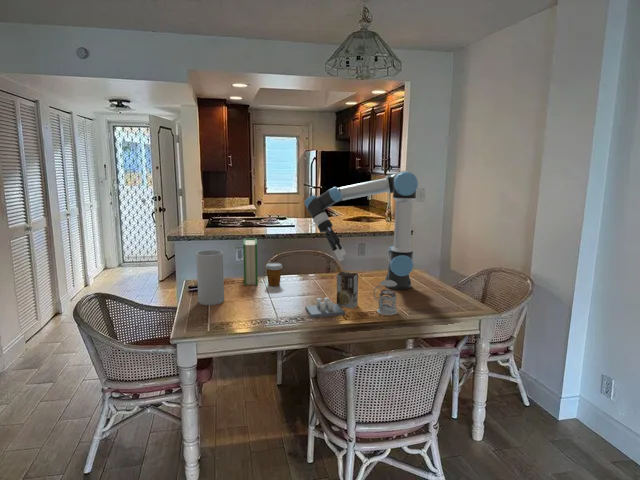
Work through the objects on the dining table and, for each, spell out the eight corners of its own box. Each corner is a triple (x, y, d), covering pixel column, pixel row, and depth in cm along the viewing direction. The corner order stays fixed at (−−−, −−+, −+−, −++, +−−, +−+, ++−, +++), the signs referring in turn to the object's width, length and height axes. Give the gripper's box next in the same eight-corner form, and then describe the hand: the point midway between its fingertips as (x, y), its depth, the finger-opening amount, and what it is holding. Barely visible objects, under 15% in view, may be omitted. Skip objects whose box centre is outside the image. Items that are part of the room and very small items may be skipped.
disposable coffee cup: (285, 284, 241) (285, 263, 239) (275, 288, 233) (275, 267, 231) (272, 281, 246) (272, 261, 244) (262, 285, 238) (261, 264, 236)
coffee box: (358, 305, 208) (358, 273, 205) (353, 309, 202) (354, 276, 199) (340, 302, 211) (341, 271, 209) (335, 306, 206) (336, 274, 203)
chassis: (337, 306, 205) (337, 295, 204) (345, 314, 194) (345, 303, 193) (305, 308, 201) (305, 297, 200) (311, 317, 190) (311, 306, 189)
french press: (397, 316, 193) (400, 262, 189) (372, 313, 196) (374, 261, 191) (398, 308, 203) (400, 258, 198) (373, 307, 205) (375, 256, 201)
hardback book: (257, 285, 238) (256, 243, 234) (244, 286, 237) (243, 244, 233) (257, 277, 255) (256, 238, 251) (244, 277, 254) (243, 238, 250)
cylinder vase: (228, 299, 214) (227, 251, 210) (216, 307, 202) (214, 256, 198) (206, 296, 217) (204, 249, 213) (193, 304, 206) (191, 254, 201)
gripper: (316, 232, 233) (335, 265, 229) (317, 219, 209) (338, 256, 205) (328, 226, 234) (347, 259, 230) (330, 212, 210) (351, 249, 206)
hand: (343, 257), depth 218 cm, fingers open, 13 cm apart
